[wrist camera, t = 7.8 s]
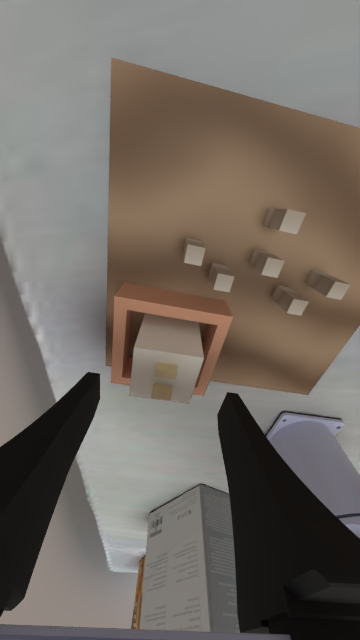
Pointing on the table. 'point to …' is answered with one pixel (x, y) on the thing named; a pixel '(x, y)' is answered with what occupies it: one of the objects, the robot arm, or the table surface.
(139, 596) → the candy box
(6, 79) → the table surface
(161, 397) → the connector plug
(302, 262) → the board
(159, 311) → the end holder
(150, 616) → the hard drive box
